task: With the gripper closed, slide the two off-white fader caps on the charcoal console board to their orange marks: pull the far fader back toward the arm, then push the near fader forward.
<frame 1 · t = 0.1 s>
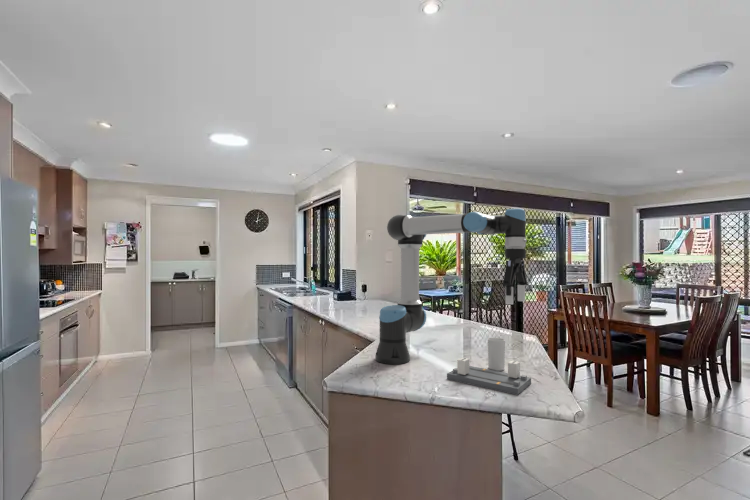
hand: (515, 302, 147), 28 cm above the worktop, fingers open, 13 cm apart
fader near: (463, 365, 140), point 5 cm above the worktop, slide at 0.0 cm
fader far: (513, 369, 137), point 5 cm above the worktop, slide at 0.0 cm
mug: (496, 368, 156), on the worktop
console: (488, 381, 138), on the worktop
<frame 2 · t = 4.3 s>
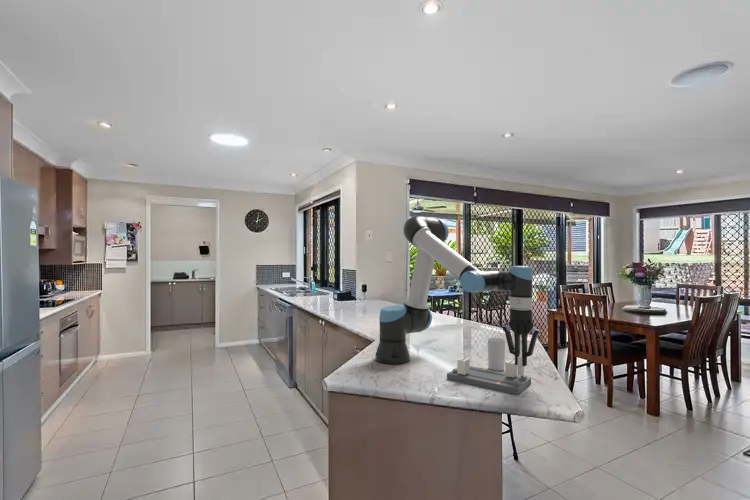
hand: (520, 374, 135), 4 cm above the worktop, fingers closed
fader far: (511, 368, 137), point 5 cm above the worktop, slide at 1.0 cm, touching gripper
everything else where it was.
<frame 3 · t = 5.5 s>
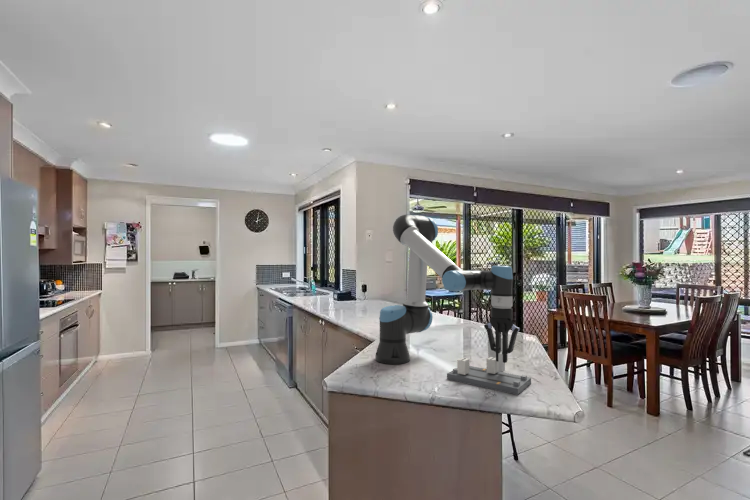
hand: (501, 370, 140), 4 cm above the worktop, fingers closed
fader far: (492, 365, 142), point 5 cm above the worktop, slide at 8.0 cm, touching gripper
everything else where it was.
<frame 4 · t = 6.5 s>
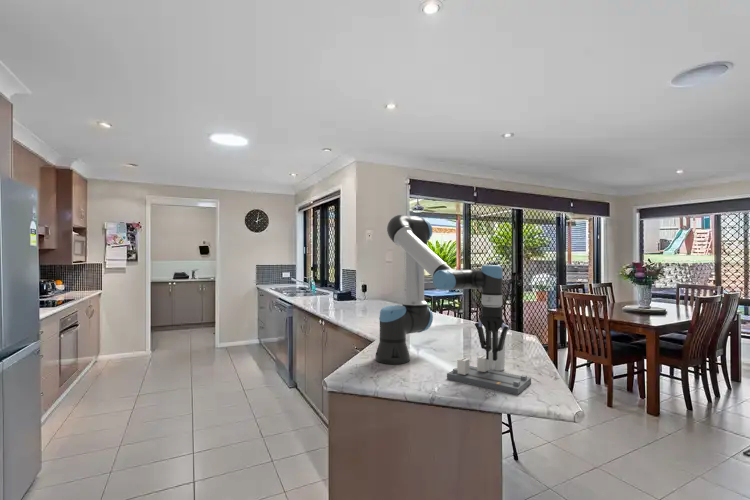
hand: (491, 368, 142), 4 cm above the worktop, fingers closed
fader far: (483, 363, 144), point 5 cm above the worktop, slide at 11.6 cm, touching gripper
everything else where it was.
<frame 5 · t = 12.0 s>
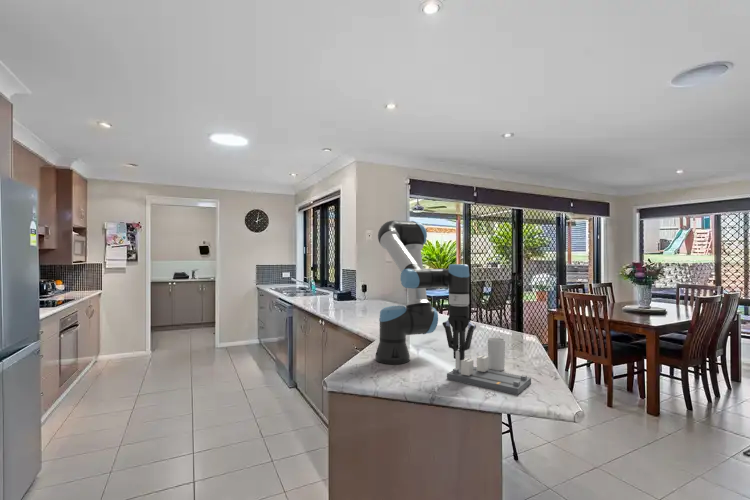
hand: (459, 367, 141), 4 cm above the worktop, fingers closed
fader near: (467, 366, 139), point 5 cm above the worktop, slide at 1.5 cm, touching gripper
fader far: (482, 363, 144), point 5 cm above the worktop, slide at 11.8 cm
everything else where it was.
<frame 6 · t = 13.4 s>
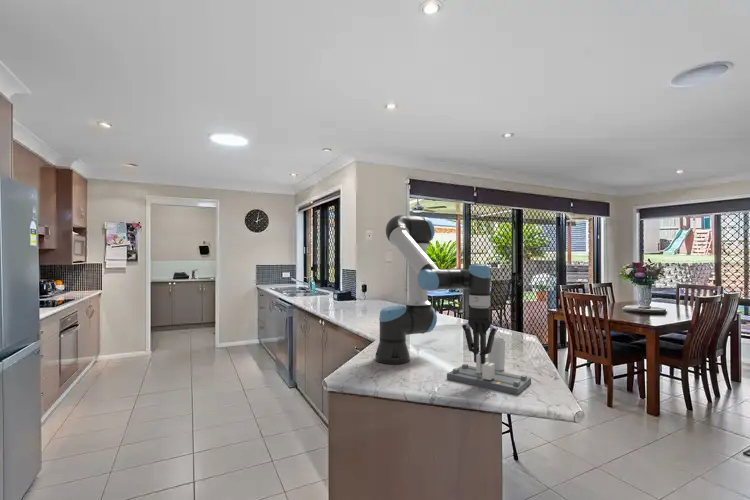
hand: (479, 372, 136), 4 cm above the worktop, fingers closed
fader near: (488, 370, 134), point 5 cm above the worktop, slide at 9.6 cm, touching gripper
everything else where it was.
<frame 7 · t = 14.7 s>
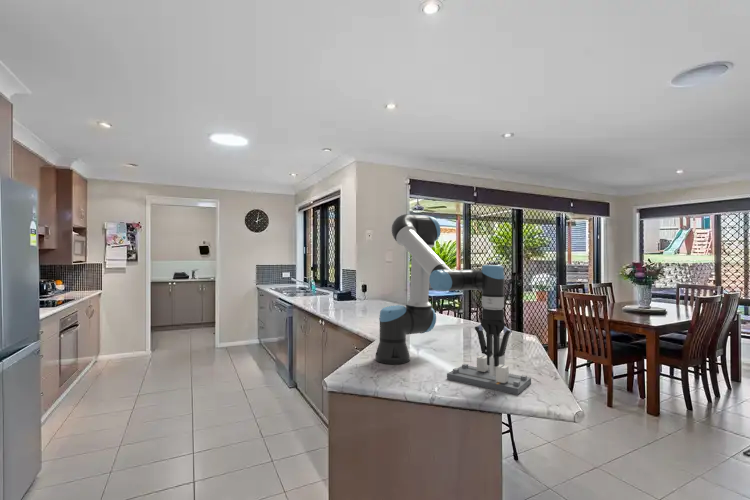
hand: (492, 375, 133), 4 cm above the worktop, fingers closed
fader near: (502, 373, 131), point 5 cm above the worktop, slide at 14.6 cm, touching gripper
everything else where it was.
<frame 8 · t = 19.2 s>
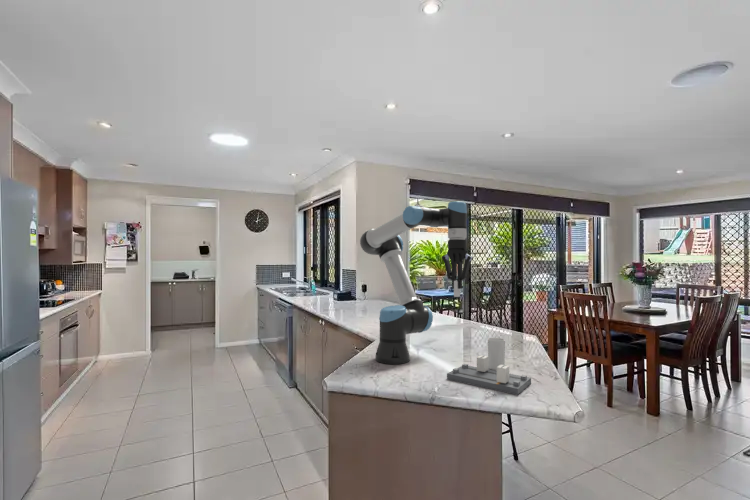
hand: (457, 296, 154), 29 cm above the worktop, fingers closed
fader near: (503, 373, 131), point 5 cm above the worktop, slide at 14.8 cm
everything else where it was.
at the end: fader far slide at 11.8 cm; fader near slide at 14.8 cm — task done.
